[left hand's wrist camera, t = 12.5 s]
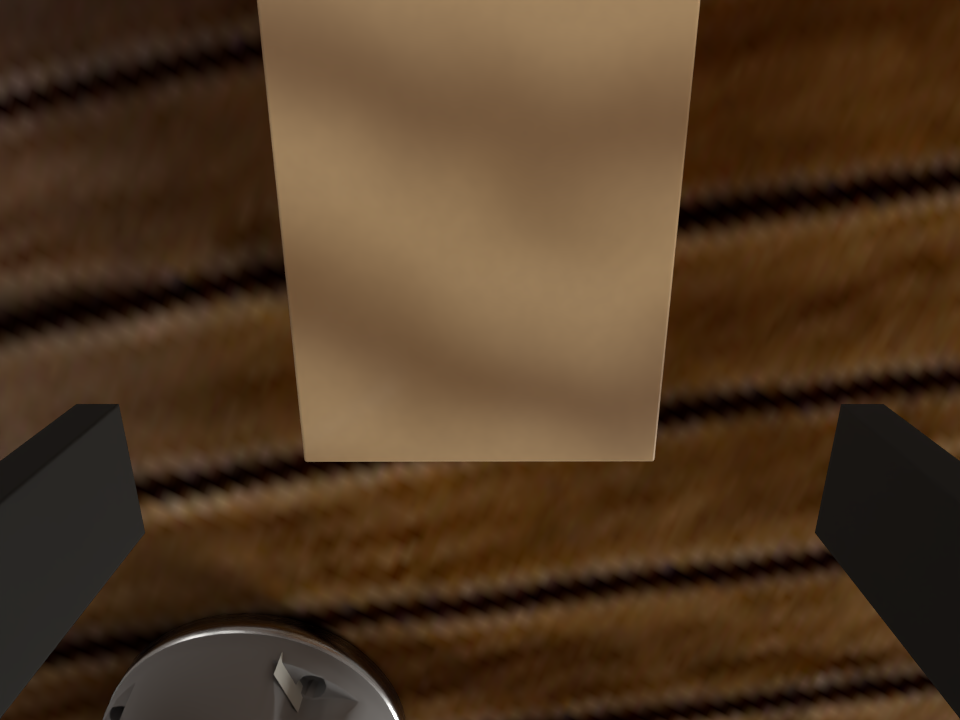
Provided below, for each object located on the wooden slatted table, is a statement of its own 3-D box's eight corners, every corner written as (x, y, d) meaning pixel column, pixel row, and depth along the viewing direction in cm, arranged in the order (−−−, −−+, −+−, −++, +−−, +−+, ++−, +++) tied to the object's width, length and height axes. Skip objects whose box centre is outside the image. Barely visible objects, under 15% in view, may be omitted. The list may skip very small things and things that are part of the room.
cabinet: (315, -257, 22) (203, -499, 13) (642, -257, 22) (751, -500, 13) (357, 354, 29) (304, 462, 20) (602, 354, 29) (654, 462, 20)
